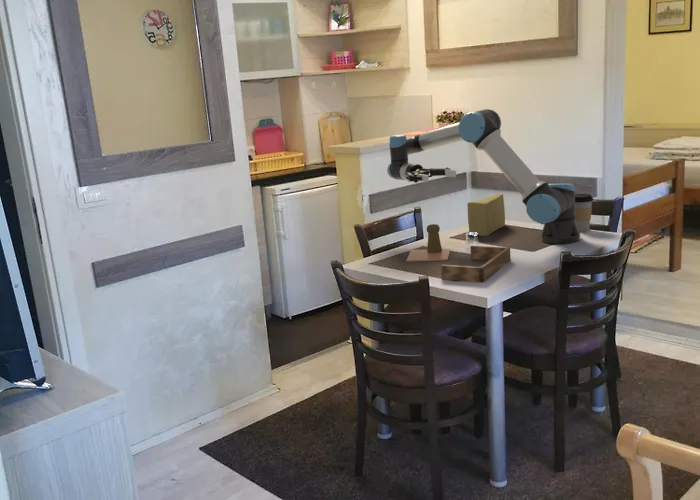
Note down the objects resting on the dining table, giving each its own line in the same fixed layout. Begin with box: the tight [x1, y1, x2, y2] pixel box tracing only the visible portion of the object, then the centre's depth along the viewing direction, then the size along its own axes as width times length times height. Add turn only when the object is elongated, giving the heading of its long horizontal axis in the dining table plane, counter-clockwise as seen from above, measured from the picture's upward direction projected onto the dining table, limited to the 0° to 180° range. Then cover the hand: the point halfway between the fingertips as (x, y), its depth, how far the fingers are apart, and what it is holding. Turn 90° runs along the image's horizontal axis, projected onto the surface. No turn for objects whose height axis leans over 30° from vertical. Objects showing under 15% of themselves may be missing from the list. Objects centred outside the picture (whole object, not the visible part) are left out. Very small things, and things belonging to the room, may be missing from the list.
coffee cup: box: [575, 193, 594, 233], centre depth 289 cm, size 9×9×15 cm
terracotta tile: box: [405, 247, 451, 263], centre depth 273 cm, size 16×16×1 cm
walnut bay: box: [440, 245, 511, 283], centre depth 247 cm, size 15×28×5 cm, turn 148°
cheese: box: [466, 193, 506, 237], centre depth 304 cm, size 22×10×15 cm, turn 137°
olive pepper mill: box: [426, 223, 443, 253], centre depth 275 cm, size 6×6×11 cm
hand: (441, 176), depth 274 cm, fingers open, 13 cm apart
